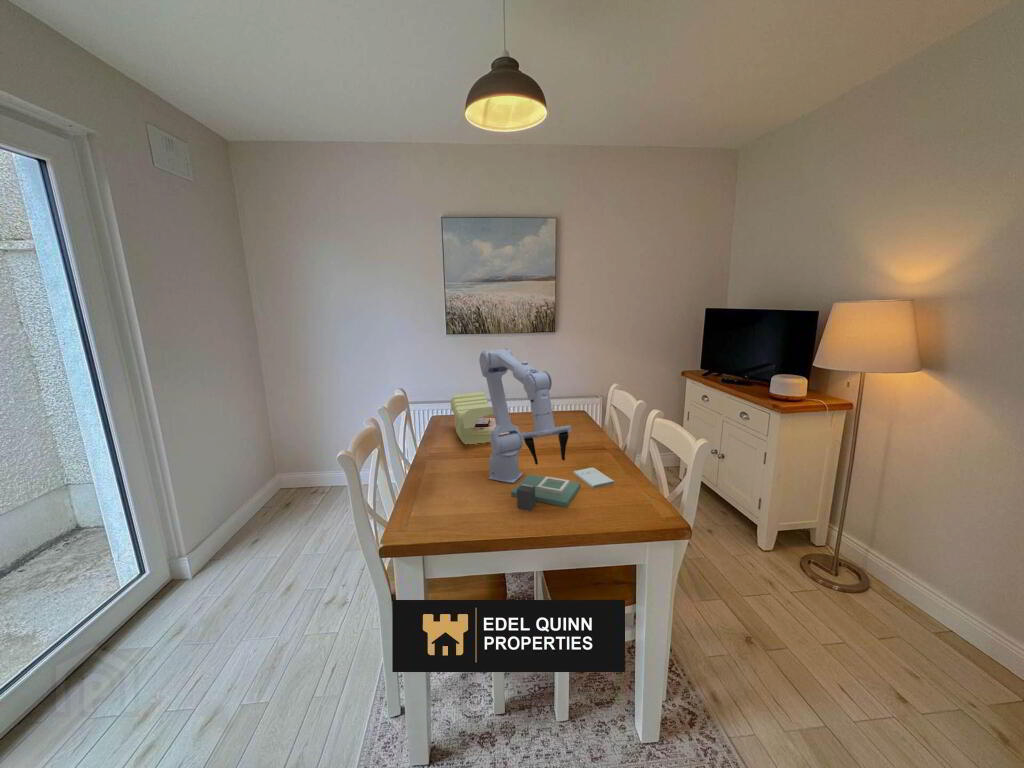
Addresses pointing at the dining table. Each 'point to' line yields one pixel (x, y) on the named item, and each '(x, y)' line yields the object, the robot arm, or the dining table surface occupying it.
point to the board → (551, 489)
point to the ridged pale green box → (471, 416)
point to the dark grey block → (526, 497)
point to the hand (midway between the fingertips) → (550, 461)
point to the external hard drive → (593, 477)
